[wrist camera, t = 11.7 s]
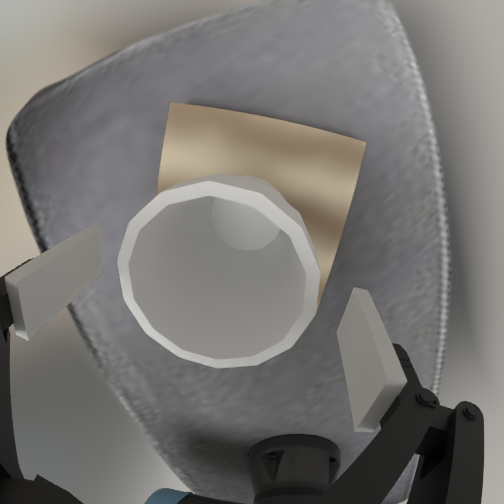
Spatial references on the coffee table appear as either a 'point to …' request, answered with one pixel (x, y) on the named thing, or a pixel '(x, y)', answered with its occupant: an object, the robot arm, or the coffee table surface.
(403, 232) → the coffee table surface
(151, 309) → the foam cup
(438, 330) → the coffee table surface
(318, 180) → the wooden base
